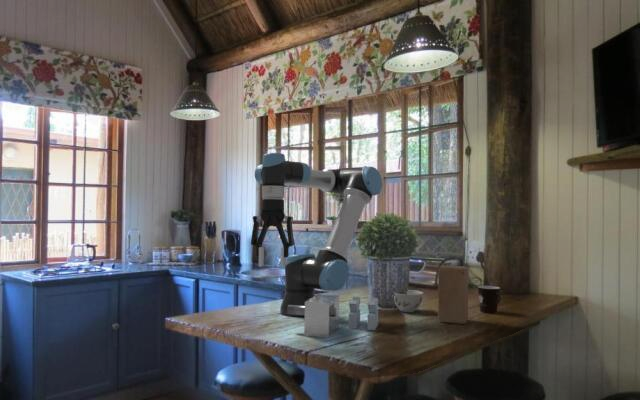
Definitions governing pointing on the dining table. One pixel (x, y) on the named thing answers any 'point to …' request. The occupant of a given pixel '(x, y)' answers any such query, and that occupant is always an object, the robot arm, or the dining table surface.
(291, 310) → the axle
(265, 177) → the robot arm
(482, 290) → the coffee mug
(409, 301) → the teacup
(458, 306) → the wooden block
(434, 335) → the dining table surface
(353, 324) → the v stand
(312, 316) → the grey box
